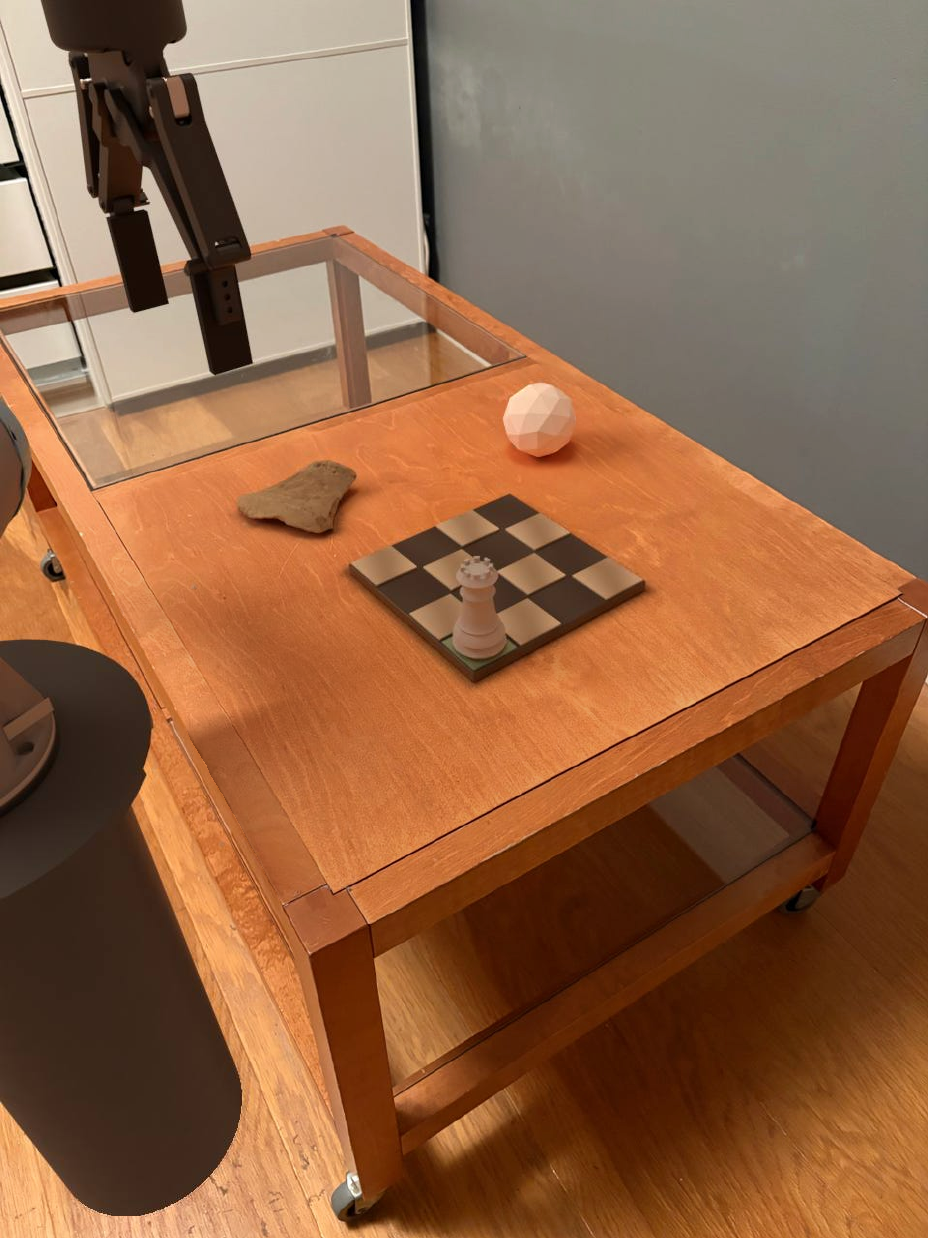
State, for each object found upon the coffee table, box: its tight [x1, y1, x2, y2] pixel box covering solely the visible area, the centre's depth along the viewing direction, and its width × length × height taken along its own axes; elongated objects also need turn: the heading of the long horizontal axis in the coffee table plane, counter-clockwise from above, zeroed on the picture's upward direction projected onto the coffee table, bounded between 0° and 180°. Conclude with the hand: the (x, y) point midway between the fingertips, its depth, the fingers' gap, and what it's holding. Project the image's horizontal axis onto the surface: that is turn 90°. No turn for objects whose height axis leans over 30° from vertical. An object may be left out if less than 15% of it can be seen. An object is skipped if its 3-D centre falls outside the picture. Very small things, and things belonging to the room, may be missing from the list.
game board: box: [348, 493, 646, 683], centre depth 86 cm, size 19×19×1 cm
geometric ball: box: [502, 382, 578, 458], centre depth 102 cm, size 8×8×8 cm
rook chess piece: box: [452, 556, 506, 659], centre depth 75 cm, size 4×4×8 cm
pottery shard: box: [236, 459, 358, 534], centre depth 96 cm, size 11×4×10 cm
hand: (188, 335), depth 65 cm, fingers open, 13 cm apart
